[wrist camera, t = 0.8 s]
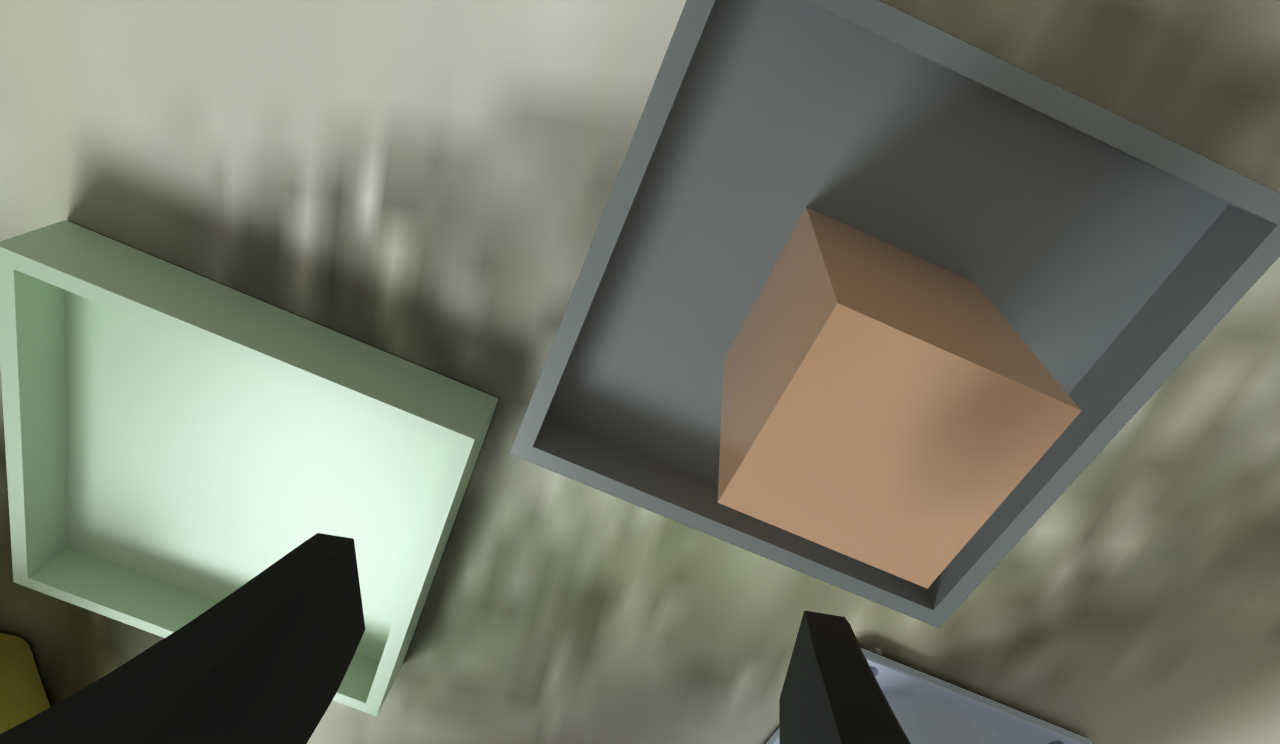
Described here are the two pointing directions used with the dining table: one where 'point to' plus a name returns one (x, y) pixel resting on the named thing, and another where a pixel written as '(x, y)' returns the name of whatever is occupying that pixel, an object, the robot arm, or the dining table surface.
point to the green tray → (215, 445)
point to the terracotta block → (879, 403)
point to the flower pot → (19, 683)
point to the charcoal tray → (896, 214)
